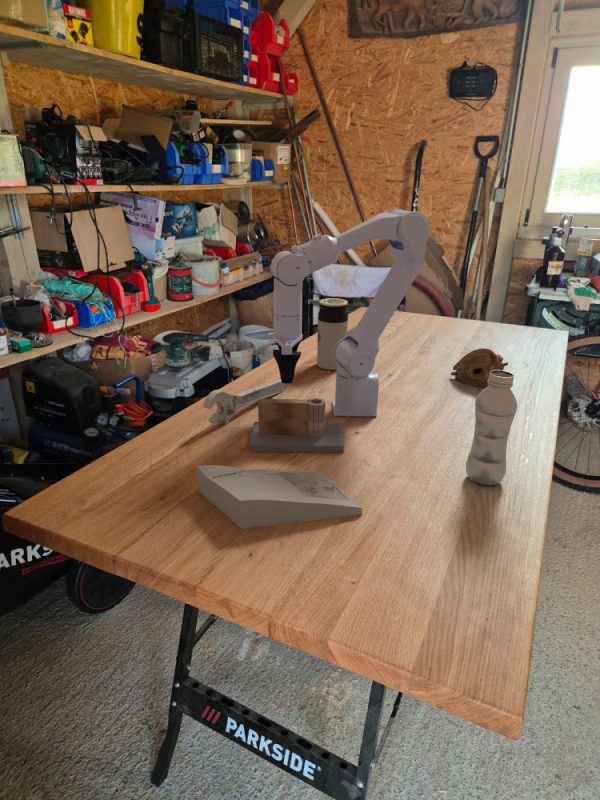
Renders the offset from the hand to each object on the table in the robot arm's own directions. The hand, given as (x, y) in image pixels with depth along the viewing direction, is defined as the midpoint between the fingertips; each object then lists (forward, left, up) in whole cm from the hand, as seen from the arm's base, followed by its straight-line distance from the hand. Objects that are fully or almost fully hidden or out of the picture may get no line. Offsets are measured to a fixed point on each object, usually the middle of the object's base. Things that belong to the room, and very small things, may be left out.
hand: (287, 376), depth 112 cm
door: (-1, +11, -8) cm, 14 cm away
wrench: (+8, -4, -10) cm, 14 cm away
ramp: (+1, +33, -10) cm, 34 cm away
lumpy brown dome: (-52, -29, -10) cm, 60 cm away
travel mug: (-11, -33, -10) cm, 36 cm away
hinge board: (-2, +11, -9) cm, 15 cm away
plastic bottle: (-35, +25, -10) cm, 44 cm away
